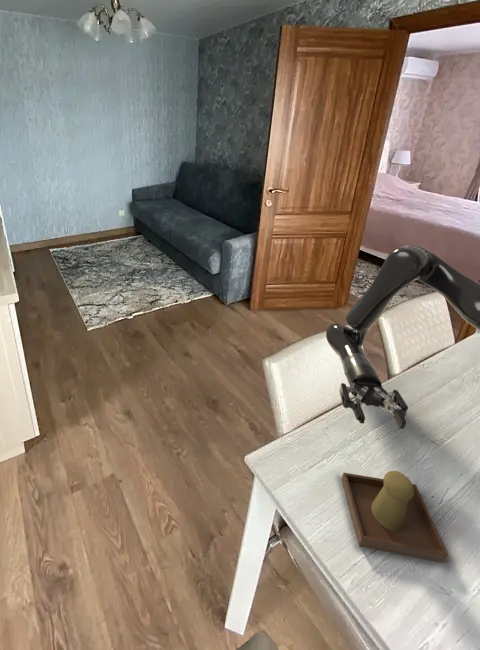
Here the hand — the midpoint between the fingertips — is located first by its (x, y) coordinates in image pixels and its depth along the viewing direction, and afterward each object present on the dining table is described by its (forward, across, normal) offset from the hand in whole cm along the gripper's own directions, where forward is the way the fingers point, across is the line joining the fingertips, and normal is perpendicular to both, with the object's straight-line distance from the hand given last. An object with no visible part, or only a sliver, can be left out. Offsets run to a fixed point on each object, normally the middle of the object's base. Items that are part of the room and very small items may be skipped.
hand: (382, 423), depth 80 cm
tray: (+13, -1, +12) cm, 18 cm away
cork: (+13, -1, +12) cm, 17 cm away
